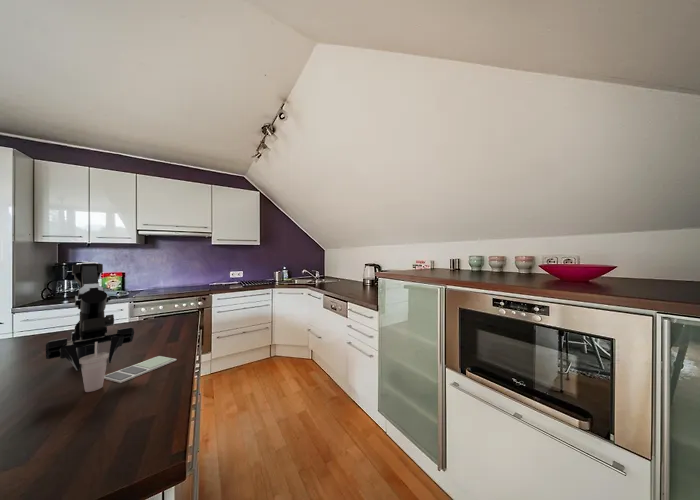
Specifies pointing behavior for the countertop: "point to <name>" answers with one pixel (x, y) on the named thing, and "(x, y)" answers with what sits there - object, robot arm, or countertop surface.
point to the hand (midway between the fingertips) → (94, 366)
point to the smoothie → (93, 370)
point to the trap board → (138, 369)
